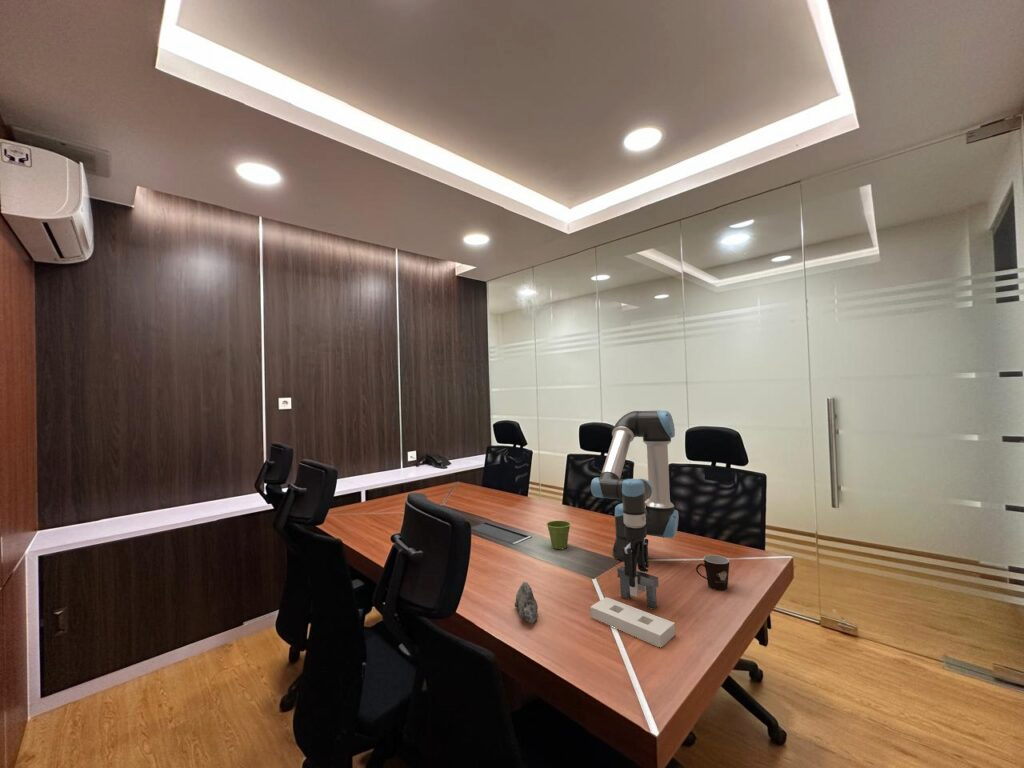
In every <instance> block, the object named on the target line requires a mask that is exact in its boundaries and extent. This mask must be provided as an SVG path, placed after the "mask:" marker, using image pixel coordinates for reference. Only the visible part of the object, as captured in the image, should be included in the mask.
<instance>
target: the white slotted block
mask: <svg viewBox="0 0 1024 768" xmlns="http://www.w3.org/2000/svg"><path fill="white" fill-rule="evenodd" d="M589 608H590V618H591V617H593V618H595V619H597V620H599V621H601V622H600V623H602V622H604V623H606V624H608V625H607V626H609V625H610V626H609V627H611V626H613V627H615V628H617V629H616V630H618V629H619V630H618V631H620V630H621V631H620V632H622V631H623V632H622V633H626V634H627V635H629V634H630V636H631V637H634V636H635V637H634V638H636V637H637V639H639V640H641V641H644V642H646V643H648V644H650V645H653V646H655V647H657V648H659V647H660V649H662V648H663V647H664V646H665V645H666V644H667V643H668V642H669V641H671V640H672V638H674V637H675V636H676V623H675V622H674V621H671V620H668V619H666V618H663V617H660V616H657V615H655V614H652V613H649V612H647V611H644V610H641V609H639V608H636V607H634V606H631V605H628V604H625V603H623V602H620V601H618V600H616V599H612V598H611V597H607V596H605V597H603V598H602V599H600V600H599V601H597V602H596V603H593V604H592V605H591V606H590V607H589ZM595 619H594V620H595ZM597 620H596V621H597ZM599 621H598V622H599ZM604 623H603V624H604ZM606 624H605V625H606ZM613 627H612V628H613ZM615 628H614V629H615ZM661 647H662V648H661Z"/></svg>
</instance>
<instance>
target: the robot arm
mask: <svg viewBox="0 0 1024 768" xmlns="http://www.w3.org/2000/svg"><path fill="white" fill-rule="evenodd" d="M675 429H676V428H675V424H674V419H673V416H672V413H670V412H669V411H668V410H634V411H633V410H632V411H630V412H627V413H626V414H624V415H623V416H621V418H620V419H618V420H617V422H616V423H615V424H614V425H613V429H612V431H611V436H612V440H611V443H610V446H609V448H608V452H607V455H606V457H605V462H604V464H603V467H602V470H601V473H600V476H599V477H594V478H593V479H592V480H591V483H590V491H591V492H590V493H591V494H592V496H593V497H594V498H599V499H600V498H601V499H611V500H620V501H621V500H622V503H619V504H617V505H616V506H615V507H614V522H615V540H614V544H613V548H612V557H613V556H614V557H615V559H616V558H617V559H616V560H618V559H620V560H619V561H621V560H623V561H622V562H624V563H623V565H624V566H623V567H624V569H625V576H628V577H629V585H630V596H631V597H636V598H638V597H639V591H642V592H644V593H646V586H643V585H640V584H638V580H637V577H636V571H639V572H643V573H646V572H647V573H648V572H649V569H648V568H649V566H650V565H649V562H650V561H649V539H647V538H646V537H647V536H650V537H656V538H657V537H659V538H662V539H664V538H667V539H673V538H674V537H675V536H676V535H677V531H678V526H679V511H678V510H677V509H675V505H674V504H673V502H671V496H670V492H671V491H670V470H669V468H670V466H669V451H668V450H669V449H668V448H669V447H668V445H670V443H671V442H672V438H674V437H675V435H676V433H675V432H676V430H675ZM635 438H642V442H643V443H644V444H645V445H646V451H647V453H646V457H647V458H646V459H647V477H648V478H647V479H646V478H628V479H622V478H621V477H622V472H623V469H624V466H625V461H626V459H627V455H628V451H629V448H630V444H631V443H632V442H633V441H634V439H635ZM646 501H647V502H646ZM614 557H613V558H614ZM637 568H638V569H637Z"/></svg>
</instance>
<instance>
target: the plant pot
mask: <svg viewBox="0 0 1024 768" xmlns="http://www.w3.org/2000/svg"><path fill="white" fill-rule="evenodd" d="M546 526H547V528H548V533H549V536H550V537H549V539H550V543H551V547H553V548H552V549H554V548H557V549H556V550H561V549H562V548H566V547H567V548H568V542H569V533H570V528H571V527H570V526H572V522H570V521H567V520H551V521H548V522H546ZM567 548H566V549H567ZM562 550H563V549H562Z"/></svg>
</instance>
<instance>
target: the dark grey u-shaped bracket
mask: <svg viewBox="0 0 1024 768" xmlns="http://www.w3.org/2000/svg"><path fill="white" fill-rule="evenodd" d="M616 571H617V574H616V575H617V578H619V583H620V584H619V585H620V598H621V597H623V598H626V599H627V600H629V599H630V598H631V597H632V595H630V585H629V577H628V576H625V569H624V566H623V565H621V566H619V567H617V570H616ZM639 571H640V570H639ZM639 571H637V570H636V577H637V580H638V584H640V585H643V586H646V591H645V593H646V595H645V596H646V608H648V607H649V609H651V608H652V609H651V610H653V609H654V608H655V609H657V607H658V600H657V588H658V587H659V577H658V576H656V575H652V574H649V573H646V572H645V573H643V572H639ZM629 597H630V598H629ZM623 598H622V599H623ZM628 598H629V599H628ZM626 599H625V600H626ZM655 609H654V610H655Z"/></svg>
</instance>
